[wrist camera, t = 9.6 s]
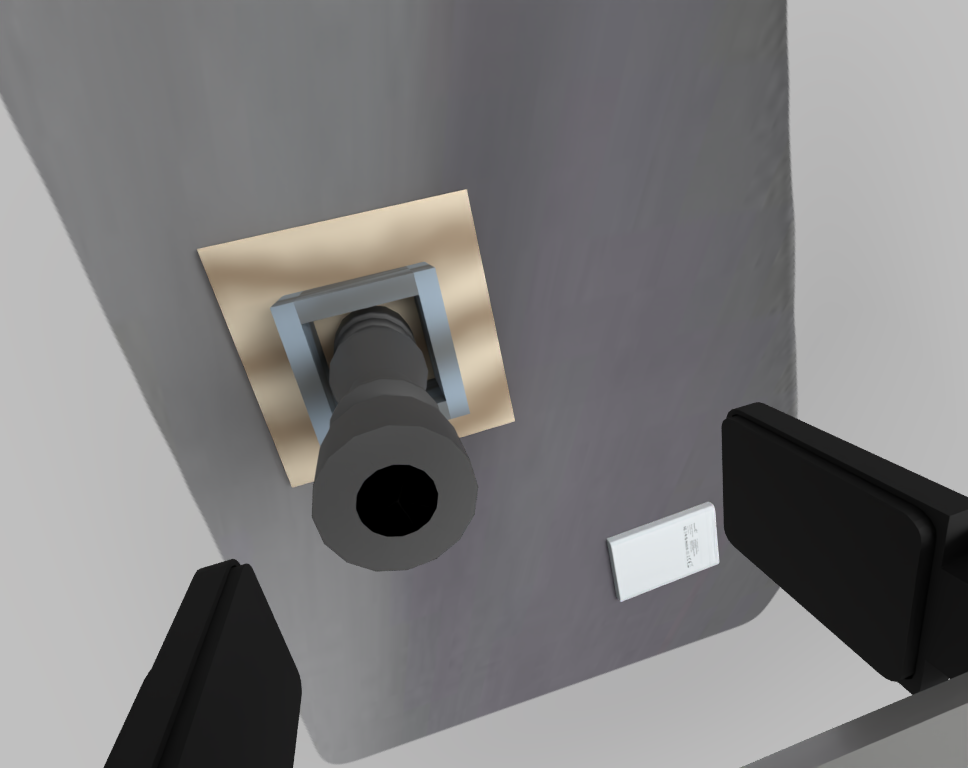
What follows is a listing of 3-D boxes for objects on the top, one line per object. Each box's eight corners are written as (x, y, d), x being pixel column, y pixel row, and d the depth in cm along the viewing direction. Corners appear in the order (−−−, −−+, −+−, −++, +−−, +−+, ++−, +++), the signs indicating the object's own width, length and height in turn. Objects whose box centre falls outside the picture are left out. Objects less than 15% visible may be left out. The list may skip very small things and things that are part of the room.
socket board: (201, 248, 37) (166, 253, 30) (463, 190, 40) (484, 183, 33) (294, 481, 44) (282, 527, 37) (511, 416, 47) (536, 448, 40)
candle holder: (360, 393, 41) (364, 607, 18) (319, 328, 39) (263, 478, 16) (426, 357, 42) (513, 520, 19) (389, 290, 39) (434, 383, 16)
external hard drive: (603, 535, 54) (706, 498, 56) (614, 593, 57) (711, 557, 59) (610, 544, 53) (715, 506, 54) (620, 603, 55) (720, 566, 57)
